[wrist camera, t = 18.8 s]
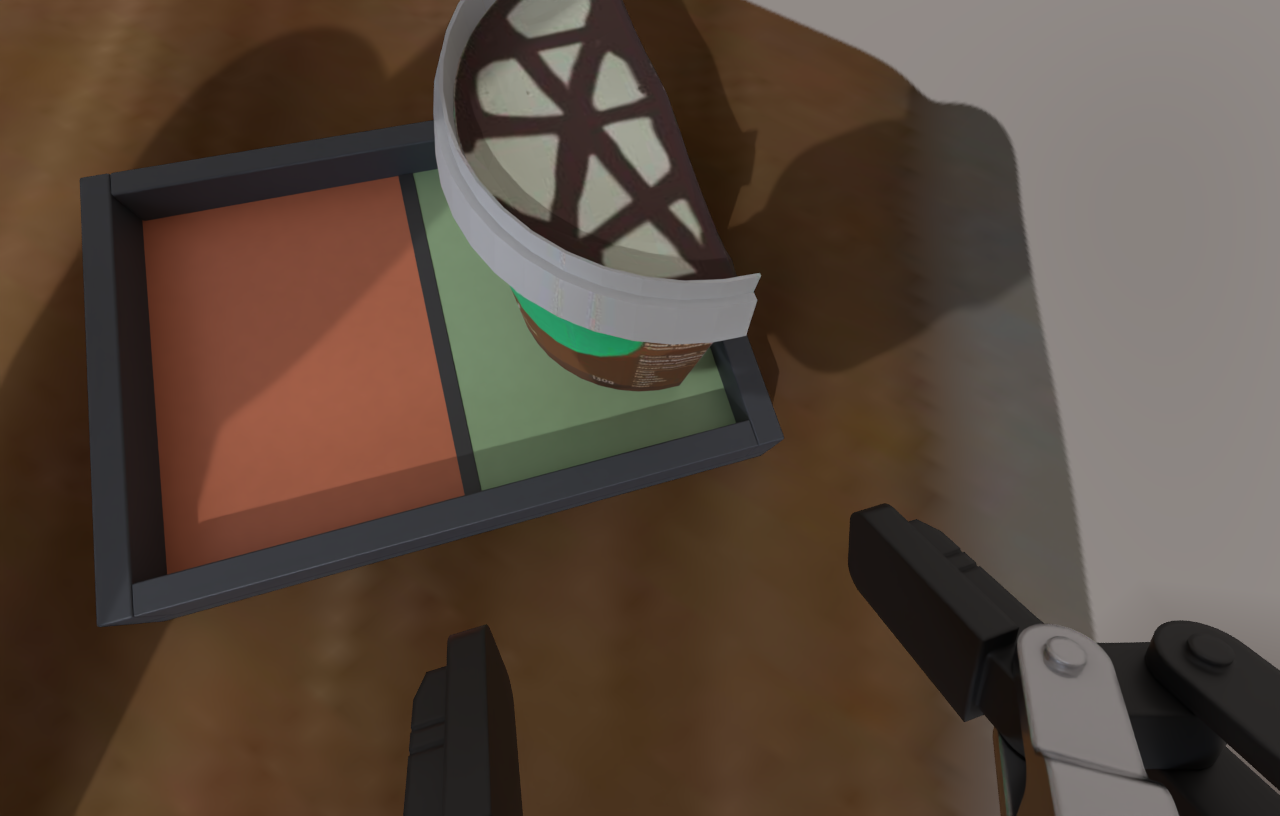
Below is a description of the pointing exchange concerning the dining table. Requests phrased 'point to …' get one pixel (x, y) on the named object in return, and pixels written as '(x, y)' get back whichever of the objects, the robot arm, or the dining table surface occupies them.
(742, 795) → the dining table surface
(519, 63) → the food container
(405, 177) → the sorting tray
